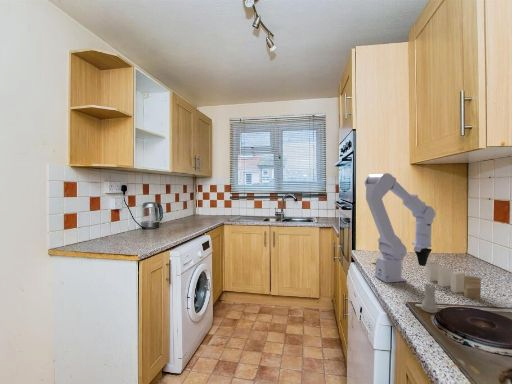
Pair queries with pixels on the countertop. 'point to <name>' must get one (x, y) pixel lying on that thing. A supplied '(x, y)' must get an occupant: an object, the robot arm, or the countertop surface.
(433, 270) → the domino
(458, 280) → the domino
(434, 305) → the rook chess piece
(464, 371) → the countertop surface
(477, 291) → the domino
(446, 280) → the domino
